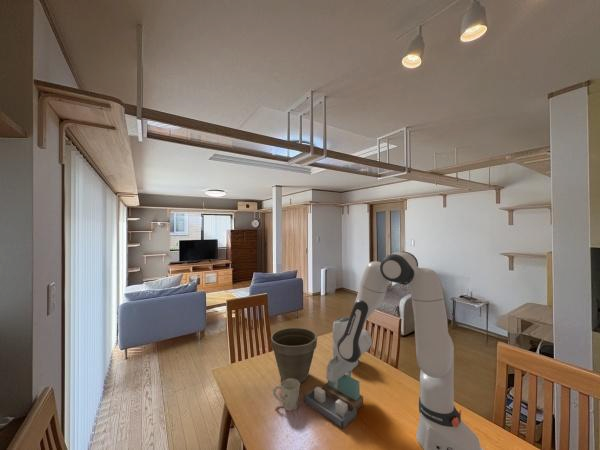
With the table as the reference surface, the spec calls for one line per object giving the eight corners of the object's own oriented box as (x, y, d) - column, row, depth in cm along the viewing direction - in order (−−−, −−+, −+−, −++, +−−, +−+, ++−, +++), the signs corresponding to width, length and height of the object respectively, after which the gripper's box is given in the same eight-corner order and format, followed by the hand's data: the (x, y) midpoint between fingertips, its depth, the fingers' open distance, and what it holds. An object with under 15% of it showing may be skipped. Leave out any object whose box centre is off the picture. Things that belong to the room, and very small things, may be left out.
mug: (298, 414, 107) (297, 390, 107) (270, 410, 110) (269, 387, 110) (301, 401, 115) (301, 379, 115) (275, 397, 118) (275, 376, 118)
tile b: (325, 390, 114) (321, 393, 113) (325, 400, 114) (321, 403, 113) (317, 386, 118) (314, 388, 116) (318, 396, 118) (314, 398, 116)
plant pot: (295, 359, 153) (294, 323, 153) (327, 375, 135) (326, 335, 135) (261, 376, 135) (261, 336, 135) (293, 398, 117) (292, 351, 118)
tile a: (347, 404, 106) (344, 407, 104) (347, 415, 106) (344, 418, 104) (338, 399, 109) (335, 401, 107) (339, 409, 109) (335, 412, 107)
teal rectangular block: (359, 397, 112) (359, 381, 112) (355, 400, 110) (355, 384, 110) (331, 381, 124) (331, 367, 124) (327, 384, 122) (327, 370, 122)
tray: (356, 416, 106) (356, 408, 106) (342, 429, 99) (342, 421, 99) (318, 392, 121) (318, 386, 121) (304, 402, 114) (304, 395, 114)
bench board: (363, 404, 113) (363, 396, 113) (353, 413, 107) (353, 405, 107) (331, 386, 126) (331, 379, 126) (321, 394, 120) (321, 386, 120)
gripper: (333, 364, 108) (334, 396, 108) (359, 347, 122) (360, 376, 122) (322, 358, 112) (323, 389, 112) (349, 343, 127) (349, 371, 126)
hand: (342, 382), depth 117 cm, fingers open, 8 cm apart
